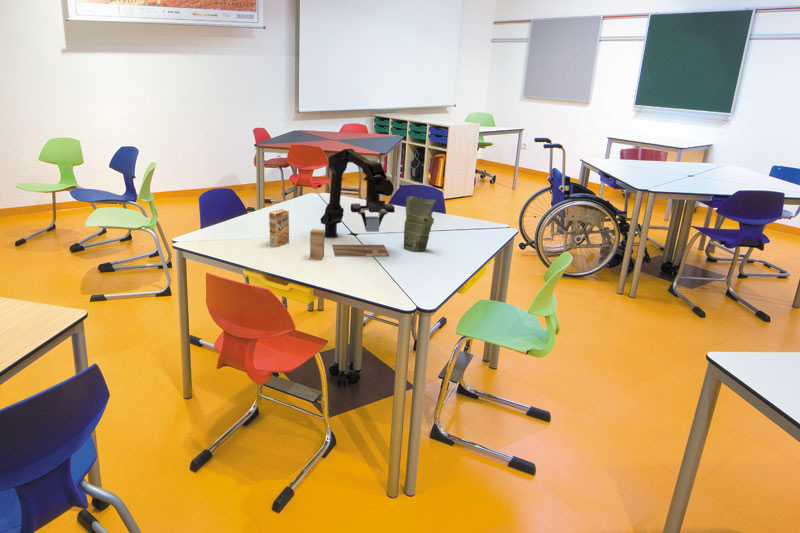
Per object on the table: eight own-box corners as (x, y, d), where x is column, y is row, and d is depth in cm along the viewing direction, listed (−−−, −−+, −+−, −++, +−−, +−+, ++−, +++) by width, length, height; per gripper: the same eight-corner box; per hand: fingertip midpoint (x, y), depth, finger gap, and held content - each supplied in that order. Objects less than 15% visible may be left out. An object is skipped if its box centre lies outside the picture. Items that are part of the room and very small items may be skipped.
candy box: (276, 247, 250) (276, 213, 245) (269, 245, 252) (268, 212, 247) (289, 242, 257) (289, 210, 252) (282, 241, 259) (282, 208, 254)
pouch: (400, 246, 262) (403, 194, 253) (423, 245, 266) (427, 193, 258) (409, 254, 252) (412, 199, 244) (433, 252, 256) (437, 199, 248)
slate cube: (364, 228, 250) (365, 216, 248) (377, 228, 251) (377, 216, 249) (366, 231, 245) (366, 219, 243) (378, 231, 246) (379, 219, 244)
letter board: (332, 245, 257) (332, 244, 256) (383, 246, 261) (383, 244, 261) (334, 257, 241) (334, 256, 241) (389, 257, 246) (389, 256, 245)
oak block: (312, 255, 242) (312, 228, 238) (324, 256, 242) (324, 229, 238) (310, 259, 238) (310, 231, 234) (321, 259, 238) (322, 232, 234)
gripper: (353, 195, 233) (352, 232, 238) (397, 196, 237) (396, 231, 242) (350, 190, 244) (350, 225, 248) (393, 190, 247) (391, 225, 252)
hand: (371, 227), depth 247 cm, fingers closed on slate cube, 5 cm apart
